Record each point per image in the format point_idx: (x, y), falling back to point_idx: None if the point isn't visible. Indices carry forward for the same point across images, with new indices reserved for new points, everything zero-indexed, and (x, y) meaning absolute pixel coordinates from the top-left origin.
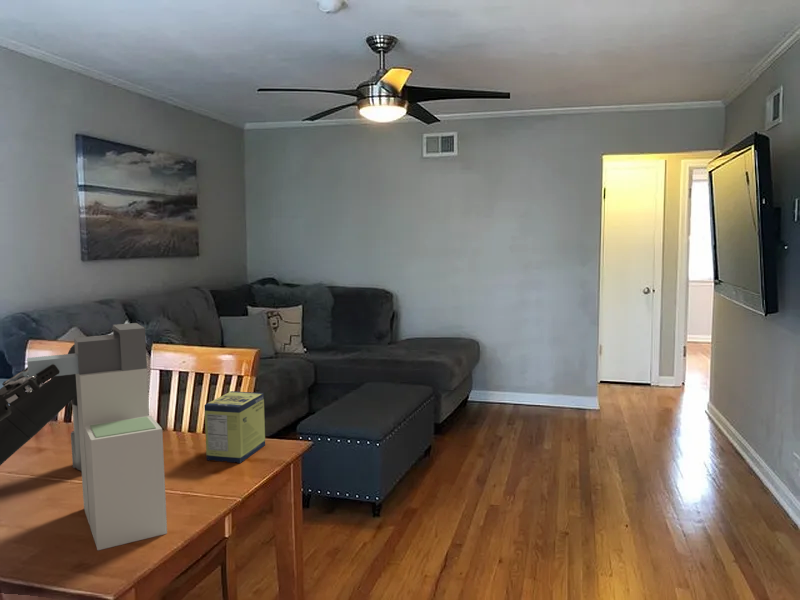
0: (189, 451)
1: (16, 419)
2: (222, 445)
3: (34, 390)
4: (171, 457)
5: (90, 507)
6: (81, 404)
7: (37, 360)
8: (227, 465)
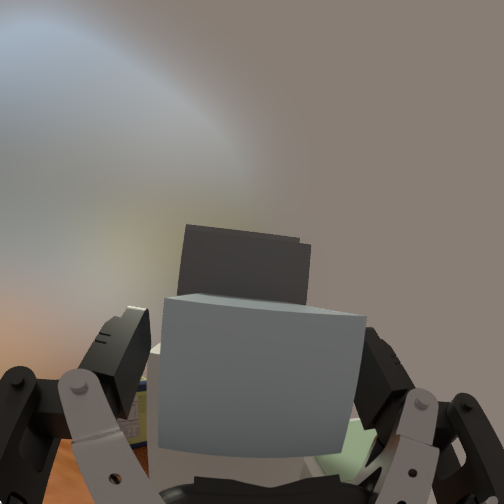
0: (66, 441)
1: None
2: (132, 431)
3: (449, 445)
4: (63, 457)
5: None
6: (290, 458)
7: (334, 311)
8: (147, 451)
